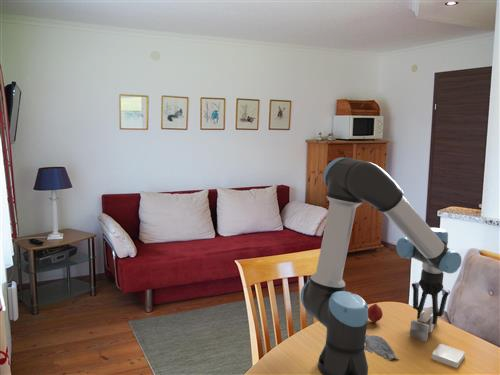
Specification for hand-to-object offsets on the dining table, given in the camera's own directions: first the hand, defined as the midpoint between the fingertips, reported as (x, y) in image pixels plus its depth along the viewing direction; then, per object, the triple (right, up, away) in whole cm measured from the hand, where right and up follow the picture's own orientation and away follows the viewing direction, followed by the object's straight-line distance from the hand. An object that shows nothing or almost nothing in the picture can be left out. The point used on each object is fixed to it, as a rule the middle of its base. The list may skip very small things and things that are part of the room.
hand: (425, 329), depth 168 cm
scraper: (0, 0, 0) cm, 0 cm away
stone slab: (-23, -2, -14) cm, 27 cm away
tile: (+3, -2, -16) cm, 16 cm away
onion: (-18, +1, +4) cm, 19 cm away
